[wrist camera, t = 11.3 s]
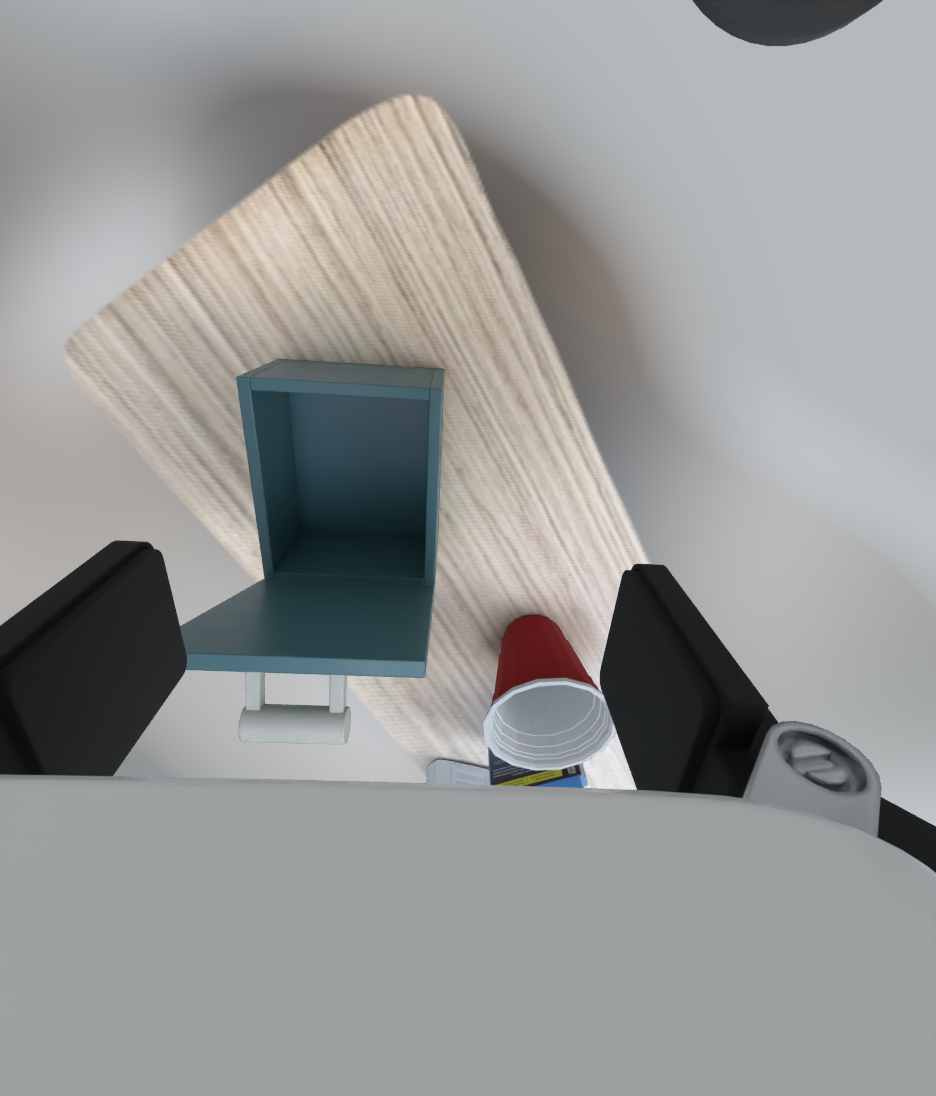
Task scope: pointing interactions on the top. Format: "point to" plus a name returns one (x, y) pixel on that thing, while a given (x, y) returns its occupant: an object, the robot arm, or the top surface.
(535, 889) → the robot arm
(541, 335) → the top surface
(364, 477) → the chest
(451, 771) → the photo printer
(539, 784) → the label tape box
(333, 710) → the lid
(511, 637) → the plastic cup
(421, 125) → the top surface
